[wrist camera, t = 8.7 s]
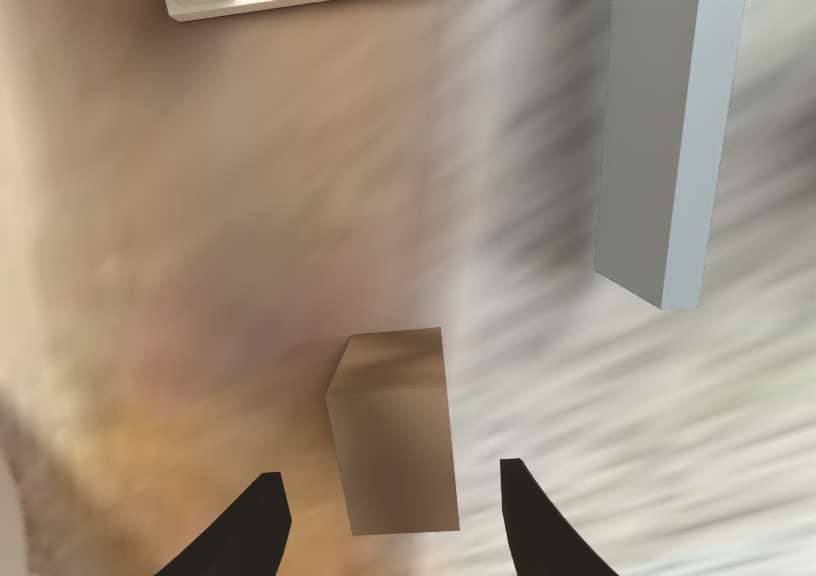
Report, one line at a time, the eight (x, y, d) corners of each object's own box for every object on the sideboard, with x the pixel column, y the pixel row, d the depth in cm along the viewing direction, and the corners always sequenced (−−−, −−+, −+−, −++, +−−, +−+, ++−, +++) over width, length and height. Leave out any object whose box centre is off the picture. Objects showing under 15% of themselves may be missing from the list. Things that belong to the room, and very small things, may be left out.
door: (618, -121, 12) (762, -338, 7) (684, -129, 12) (879, -355, 7) (592, 269, 15) (674, 317, 10) (642, 266, 15) (749, 313, 10)
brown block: (440, 326, 17) (446, 386, 12) (451, 439, 19) (459, 530, 14) (352, 334, 17) (325, 395, 13) (370, 444, 19) (352, 535, 14)
